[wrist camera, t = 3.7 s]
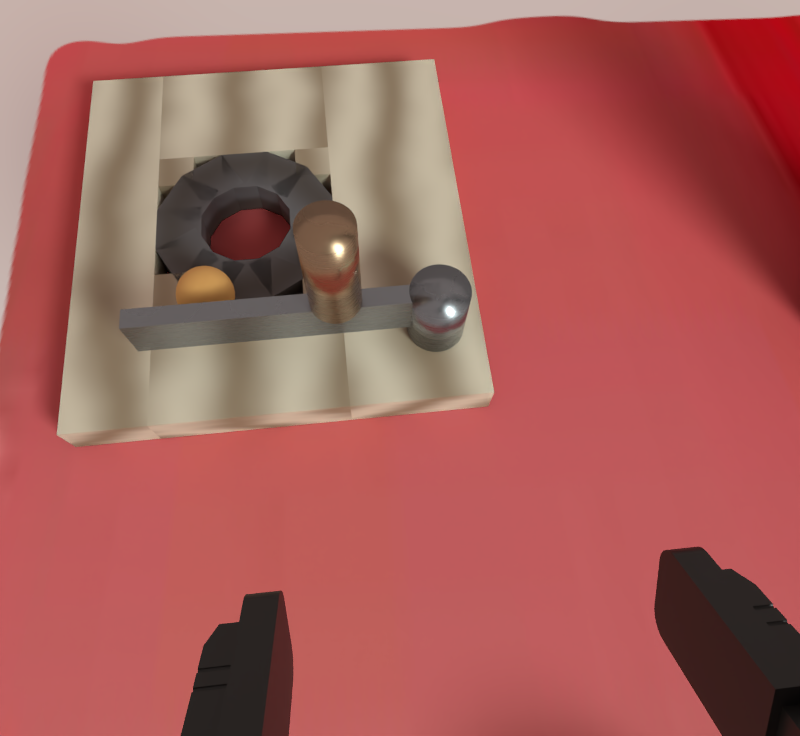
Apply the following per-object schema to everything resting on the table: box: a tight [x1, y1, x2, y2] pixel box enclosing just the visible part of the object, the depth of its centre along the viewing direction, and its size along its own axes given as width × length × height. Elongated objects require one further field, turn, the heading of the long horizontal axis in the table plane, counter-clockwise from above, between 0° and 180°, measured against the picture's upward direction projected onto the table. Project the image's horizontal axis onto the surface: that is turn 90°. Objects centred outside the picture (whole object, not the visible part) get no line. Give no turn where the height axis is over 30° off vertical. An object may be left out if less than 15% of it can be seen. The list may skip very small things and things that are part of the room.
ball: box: [176, 266, 235, 305], centre depth 39 cm, size 4×4×4 cm
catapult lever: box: [119, 200, 472, 352], centre depth 35 cm, size 20×4×11 cm, turn 96°
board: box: [57, 59, 494, 447], centre depth 45 cm, size 26×28×2 cm
